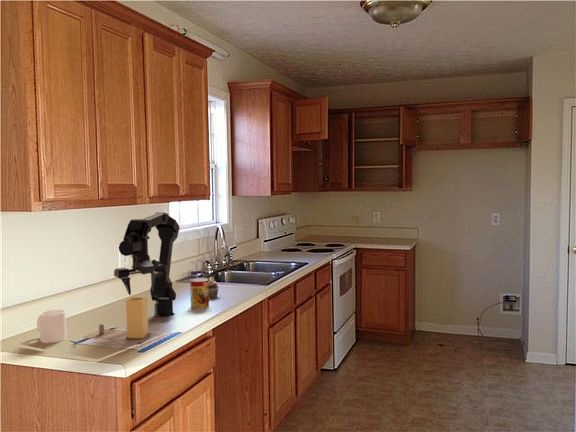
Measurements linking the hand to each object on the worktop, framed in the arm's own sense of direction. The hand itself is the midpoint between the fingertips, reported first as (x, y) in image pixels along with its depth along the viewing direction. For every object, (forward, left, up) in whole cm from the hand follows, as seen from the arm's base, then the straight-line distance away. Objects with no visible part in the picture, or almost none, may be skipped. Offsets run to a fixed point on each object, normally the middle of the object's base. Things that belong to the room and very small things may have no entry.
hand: (141, 293), depth 194 cm
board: (+11, +8, -13) cm, 19 cm away
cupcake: (-44, -29, -13) cm, 54 cm away
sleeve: (+7, +14, -12) cm, 20 cm away
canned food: (-32, -15, -13) cm, 38 cm away
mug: (+32, -4, -13) cm, 35 cm away
